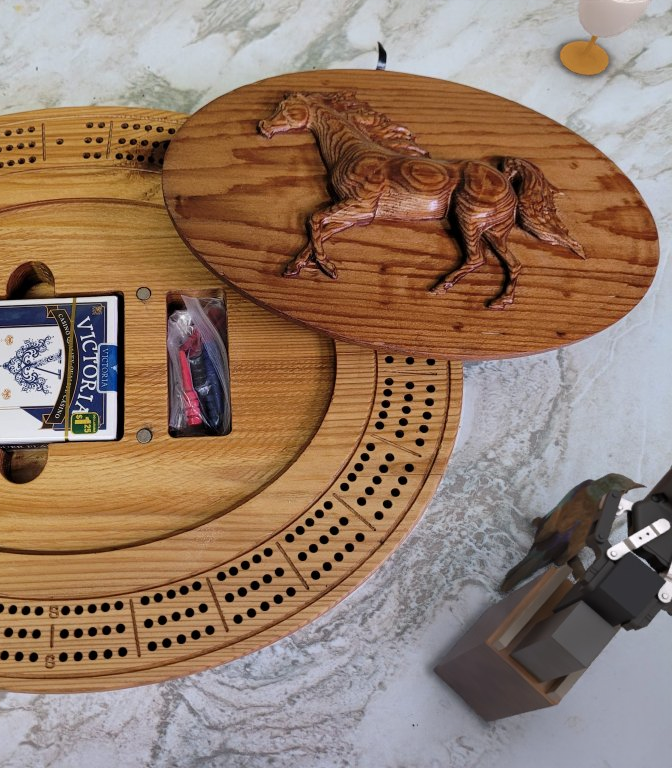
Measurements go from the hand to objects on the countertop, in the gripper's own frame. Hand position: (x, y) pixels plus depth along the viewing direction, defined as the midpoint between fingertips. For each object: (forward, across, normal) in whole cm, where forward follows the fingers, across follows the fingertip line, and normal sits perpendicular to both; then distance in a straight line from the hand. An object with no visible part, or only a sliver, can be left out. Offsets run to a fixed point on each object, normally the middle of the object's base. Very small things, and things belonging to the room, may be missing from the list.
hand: (606, 608), depth 79 cm
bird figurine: (-19, -3, +37) cm, 42 cm away
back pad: (-3, 0, +10) cm, 10 cm away
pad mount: (0, 0, +14) cm, 14 cm away
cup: (-103, -56, +37) cm, 123 cm away
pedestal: (0, 0, +36) cm, 37 cm away
